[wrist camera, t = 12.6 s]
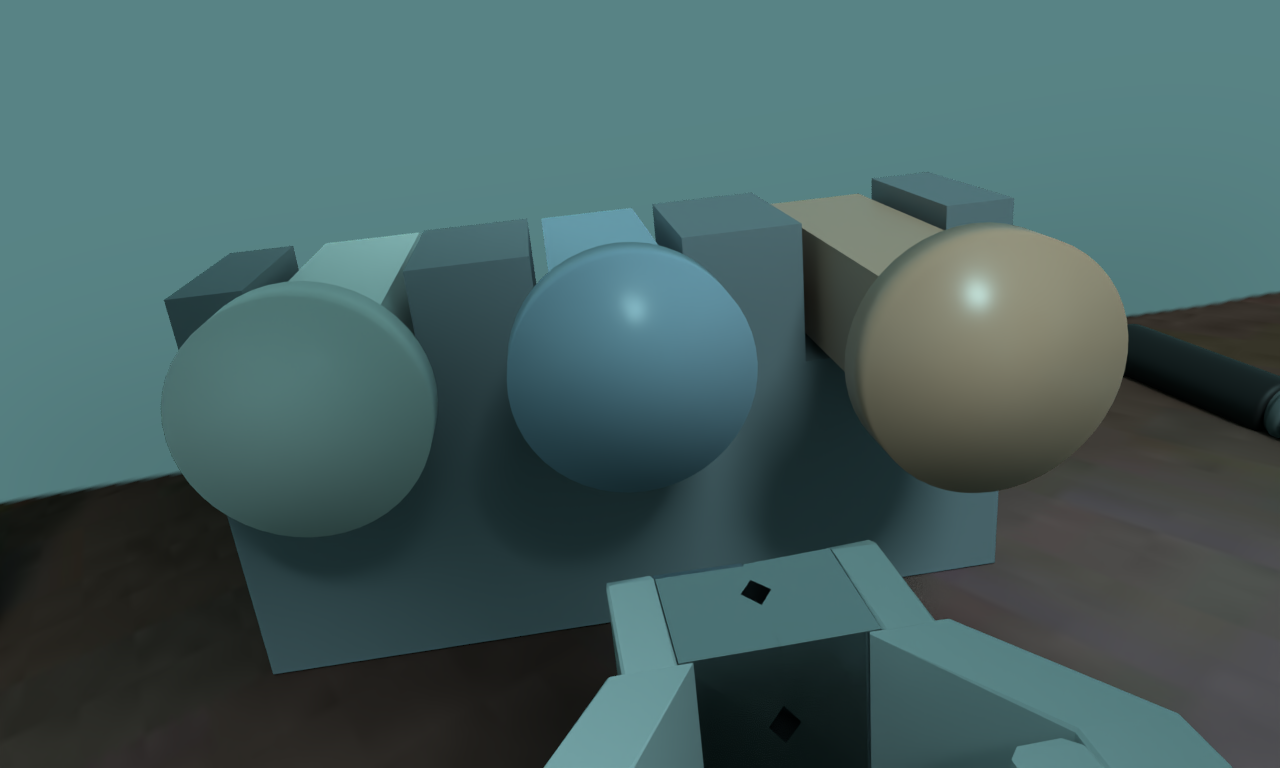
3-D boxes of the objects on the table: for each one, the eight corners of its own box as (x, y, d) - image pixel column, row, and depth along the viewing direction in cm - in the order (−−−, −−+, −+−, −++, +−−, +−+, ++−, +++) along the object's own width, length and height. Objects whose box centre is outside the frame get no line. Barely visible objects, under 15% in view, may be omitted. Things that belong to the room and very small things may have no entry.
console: (273, 674, 24) (164, 300, 20) (313, 572, 29) (230, 253, 25) (994, 562, 26) (1013, 198, 22) (921, 483, 30) (927, 171, 27)
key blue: (525, 508, 19) (488, 271, 17) (523, 343, 29) (500, 186, 27) (763, 474, 19) (751, 239, 17) (676, 323, 29) (663, 167, 28)
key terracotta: (867, 510, 17) (865, 252, 15) (735, 336, 28) (726, 170, 26) (1114, 473, 18) (1141, 218, 16) (893, 315, 28) (894, 151, 26)
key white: (201, 554, 18) (127, 314, 16) (317, 369, 29) (280, 211, 27) (452, 517, 19) (407, 280, 17) (476, 348, 29) (450, 191, 27)
